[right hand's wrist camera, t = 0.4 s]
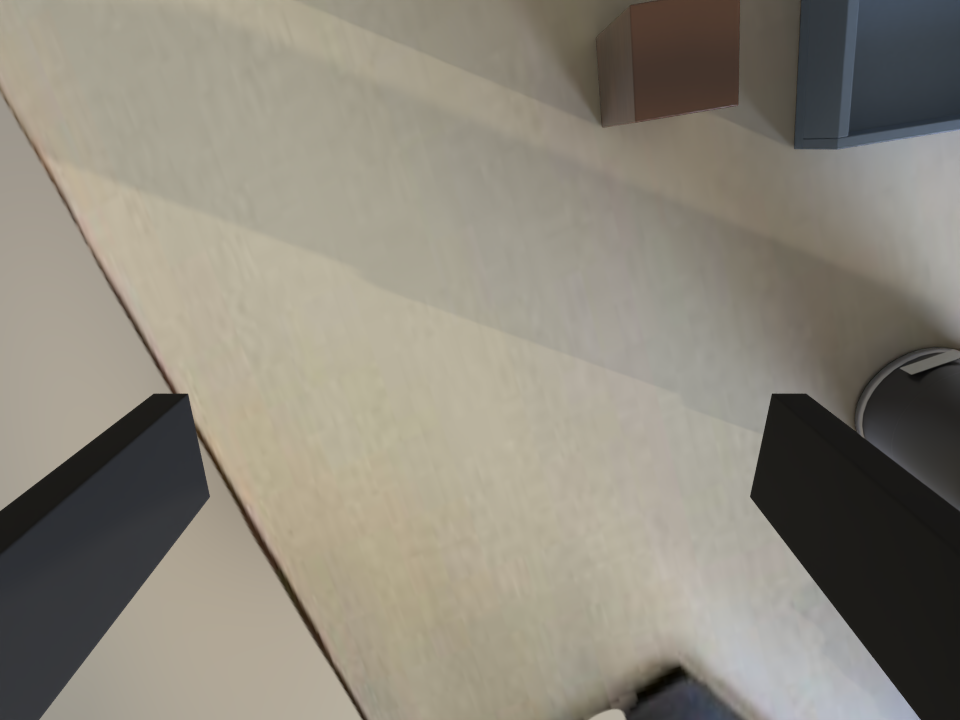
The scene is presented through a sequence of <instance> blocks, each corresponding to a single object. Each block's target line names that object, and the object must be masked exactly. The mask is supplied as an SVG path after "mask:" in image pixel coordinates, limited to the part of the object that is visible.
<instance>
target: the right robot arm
mask: <svg viewBox="0 0 960 720" xmlns="http://www.w3.org/2000/svg"><path fill="white" fill-rule="evenodd" d="M209 497H210V495H209V490H208V486H207V481H206V476H205V472H204V467H203V462H202V458H201V453H200V448H199V443H198V439H197V434H196V429H195V425H194V420H193V415H192V410H191V406H190V401H189V396H188V394H153V395H152V396H150V397H149V398H148V399H146V400H145V401H144V402H143V403H141V404H140V405H138V406H137V407H136V408H135V409H133V410H132V411H131V412H129V413H128V414H127V415H125V416H124V417H123V418H121V419H120V420H119V421H118V422H116V423H115V424H114V425H112V426H111V427H110V428H108V429H107V430H106V431H105V432H103V433H102V434H101V435H99V436H98V437H97V438H95V439H94V440H93V441H91V442H90V443H89V444H87V445H86V446H85V447H84V448H82V449H81V450H80V451H78V452H77V453H76V454H74V455H73V456H72V457H70V458H69V459H68V460H67V461H65V462H64V463H63V464H61V465H60V466H59V467H57V468H56V469H55V470H54V471H52V472H51V473H50V474H48V475H47V476H46V477H44V478H43V479H42V480H40V481H39V482H38V483H36V484H35V485H34V486H33V487H31V488H30V489H29V490H27V491H26V492H25V493H23V494H22V495H21V496H20V497H18V498H17V499H16V500H14V501H13V502H12V503H10V504H9V505H8V506H6V507H5V508H4V509H2V510H1V511H0V720H39V719H40V718H41V717H42V715H43V714H44V713H45V711H46V710H47V709H48V707H49V706H50V705H51V703H52V702H53V701H54V700H55V698H56V697H57V696H58V694H59V693H60V692H61V691H62V689H63V688H64V687H65V685H66V684H67V683H68V681H69V680H70V679H71V677H72V676H73V675H74V673H75V672H76V671H77V670H78V668H79V667H80V666H81V664H82V663H83V662H84V660H85V659H86V658H87V657H88V655H89V654H90V653H91V651H92V650H93V649H94V647H95V646H96V645H97V643H98V642H99V641H100V639H101V638H102V637H103V636H104V634H105V633H106V632H107V630H108V629H109V628H110V627H111V625H112V624H113V623H114V621H115V620H116V619H117V617H118V616H119V615H120V614H121V612H122V611H123V610H124V608H125V607H126V606H127V604H128V603H129V602H130V600H131V599H132V598H133V597H134V595H135V594H136V593H137V591H138V590H139V589H140V587H141V586H142V585H143V583H144V582H145V581H146V580H147V578H148V577H149V576H150V574H151V573H152V572H153V570H154V569H155V568H156V566H157V565H158V564H159V563H160V561H161V560H162V559H163V557H164V556H165V555H166V553H167V552H168V551H169V550H170V548H171V547H172V546H173V544H174V543H175V542H176V540H177V539H178V538H179V537H180V535H181V534H182V533H183V531H184V530H185V529H186V527H187V526H188V525H189V523H190V522H191V521H192V520H193V518H194V517H195V516H196V514H197V513H198V512H199V510H200V509H201V508H202V506H203V505H204V504H205V502H206V501H207V500H208V499H209ZM750 497H751V499H752V500H753V501H754V503H755V504H756V505H757V507H758V508H759V509H760V510H761V512H762V513H763V514H764V516H765V517H766V518H767V520H768V521H769V522H770V523H771V525H772V526H773V527H774V529H775V530H776V531H777V533H778V534H779V535H780V537H781V538H782V539H783V540H784V542H785V543H786V544H787V546H788V547H789V548H790V550H791V551H792V552H793V553H794V555H795V556H796V557H797V559H798V560H799V561H800V563H801V564H802V565H803V567H804V568H805V569H806V570H807V572H808V573H809V574H810V576H811V577H812V578H813V580H814V581H815V582H816V583H817V585H818V586H819V587H820V589H821V590H822V591H823V593H824V594H825V595H826V597H827V598H828V599H829V600H830V602H831V603H832V604H833V606H834V607H835V608H836V610H837V611H838V612H839V614H840V615H841V616H842V617H843V619H844V620H845V621H846V623H847V624H848V625H849V627H850V628H851V629H852V630H853V632H854V633H855V634H856V636H857V637H858V638H859V640H860V641H861V642H862V644H863V645H864V646H865V647H866V649H867V650H868V651H869V653H870V654H871V655H872V657H873V658H874V659H875V660H876V662H877V663H878V664H879V666H880V667H881V668H882V670H883V671H884V672H885V674H886V675H887V676H888V677H889V679H890V680H891V681H892V683H893V684H894V685H895V687H896V688H897V689H898V691H899V692H900V693H901V694H902V696H903V697H904V698H905V700H906V701H907V702H908V704H909V705H910V706H911V707H912V709H913V710H914V711H915V713H916V714H917V715H918V717H919V718H920V719H921V720H960V511H959V510H958V509H956V508H955V507H954V506H952V505H951V504H950V503H948V502H947V501H946V500H944V499H943V498H942V497H941V496H939V495H938V494H937V493H935V492H934V491H933V490H931V489H930V488H929V487H927V486H926V485H925V484H924V483H922V482H921V481H920V480H918V479H917V478H916V477H914V476H913V475H912V474H910V473H909V472H908V471H907V470H905V469H904V468H903V467H901V466H900V465H899V464H897V463H896V462H895V461H893V460H892V459H891V458H890V457H888V456H887V455H886V454H884V453H883V452H882V451H880V450H879V449H878V448H876V447H875V446H874V445H873V444H871V443H870V442H869V441H867V440H866V439H865V438H863V437H862V436H861V435H859V434H858V433H857V432H856V431H854V430H853V429H852V428H850V427H849V426H848V425H846V424H845V423H844V422H842V421H841V420H840V419H839V418H837V417H836V416H835V415H833V414H832V413H831V412H829V411H828V410H827V409H825V408H824V407H823V406H822V405H820V404H819V403H818V402H816V401H815V400H814V399H812V398H811V397H810V396H808V395H807V394H772V396H771V401H770V406H769V410H768V415H767V420H766V425H765V429H764V434H763V439H762V443H761V448H760V453H759V457H758V462H757V467H756V472H755V476H754V481H753V486H752V490H751V495H750Z"/></svg>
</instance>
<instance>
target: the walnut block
mask: <svg viewBox="0 0 960 720" xmlns="http://www.w3.org/2000/svg"><path fill="white" fill-rule="evenodd" d="M739 24H740V0H656V1H651V2H645V3H639V4H634V5H630V6H629V7H628V8H627V9H626V10H625V11H624V12H623V13H622V14H621V15H619V16H618V17H617V18H616V19H615V20H614V21H613V22H612V23H611V24H610V25H609V26H608V27H607V28H606V29H605V30H604V31H602V32H601V33H600V34H599V35H598V36H597V37H596V47H597V61H598V76H599V91H600V105H601V120H602V127H610V126H616V125H623V124H629V123H636V122H642V121H648V120H654V119H660V118H666V117H672V116H678V115H684V114H690V113H697V112H703V111H709V110H715V109H721V108H727V107H733V106H737V105H738V94H739Z"/></svg>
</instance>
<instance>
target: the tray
mask: <svg viewBox="0 0 960 720" xmlns="http://www.w3.org/2000/svg"><path fill="white" fill-rule="evenodd" d="M956 130H960V0H801V20H800V41H799V61H798V82H797V102H796V123H795V143H794V149H843V148H849V147H855V146H862V145H868V144H874V143H881V142H887V141H893V140H899V139H906V138H912V137H918V136H925V135H931V134H937V133H943V132H950V131H956Z"/></svg>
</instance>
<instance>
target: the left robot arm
mask: <svg viewBox="0 0 960 720" xmlns="http://www.w3.org/2000/svg"><path fill="white" fill-rule="evenodd" d="M855 426H856V431H857V433H858V434H859V435H861V436H862V437H863V438H865V439H866V440H867V441H869V442H870V443H871V444H873V445H874V446H875V447H876V448H878V449H879V450H880V451H882V452H883V453H884V454H886V455H887V456H888V457H890V458H891V459H892V460H893V461H895V462H896V463H897V464H899V465H900V466H901V467H903V468H904V469H905V470H907V471H908V472H909V473H910V474H912V475H913V476H914V477H916V478H917V479H918V480H920V481H921V482H922V483H924V484H925V485H926V486H927V487H929V488H930V489H931V490H933V491H934V492H935V493H937V494H938V495H939V496H941V497H942V498H943V499H944V500H946V501H947V502H948V503H950V504H951V505H952V506H954V507H955V508H956V509H958V510H959V511H960V351H958V350H955V349H951V348H942V347H935V348H926V349H921V350H918V351H914V352H911V353H908V354H906V355H904V356H902V357H900V358H898V359H896V360H894V361H893V362H891V363H890V364H888V365H887V366H886V367H884V368H883V369H882V370H881V371H880V372H879V373H878V374H877V375H876V376H875V377H874V378H873V379H872V380H871V381H870V382H869V384H868V385H867V386H866V388H865V390H864V391H863V393H862V395H861V397H860V399H859V402H858V405H857V408H856V414H855Z"/></svg>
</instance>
